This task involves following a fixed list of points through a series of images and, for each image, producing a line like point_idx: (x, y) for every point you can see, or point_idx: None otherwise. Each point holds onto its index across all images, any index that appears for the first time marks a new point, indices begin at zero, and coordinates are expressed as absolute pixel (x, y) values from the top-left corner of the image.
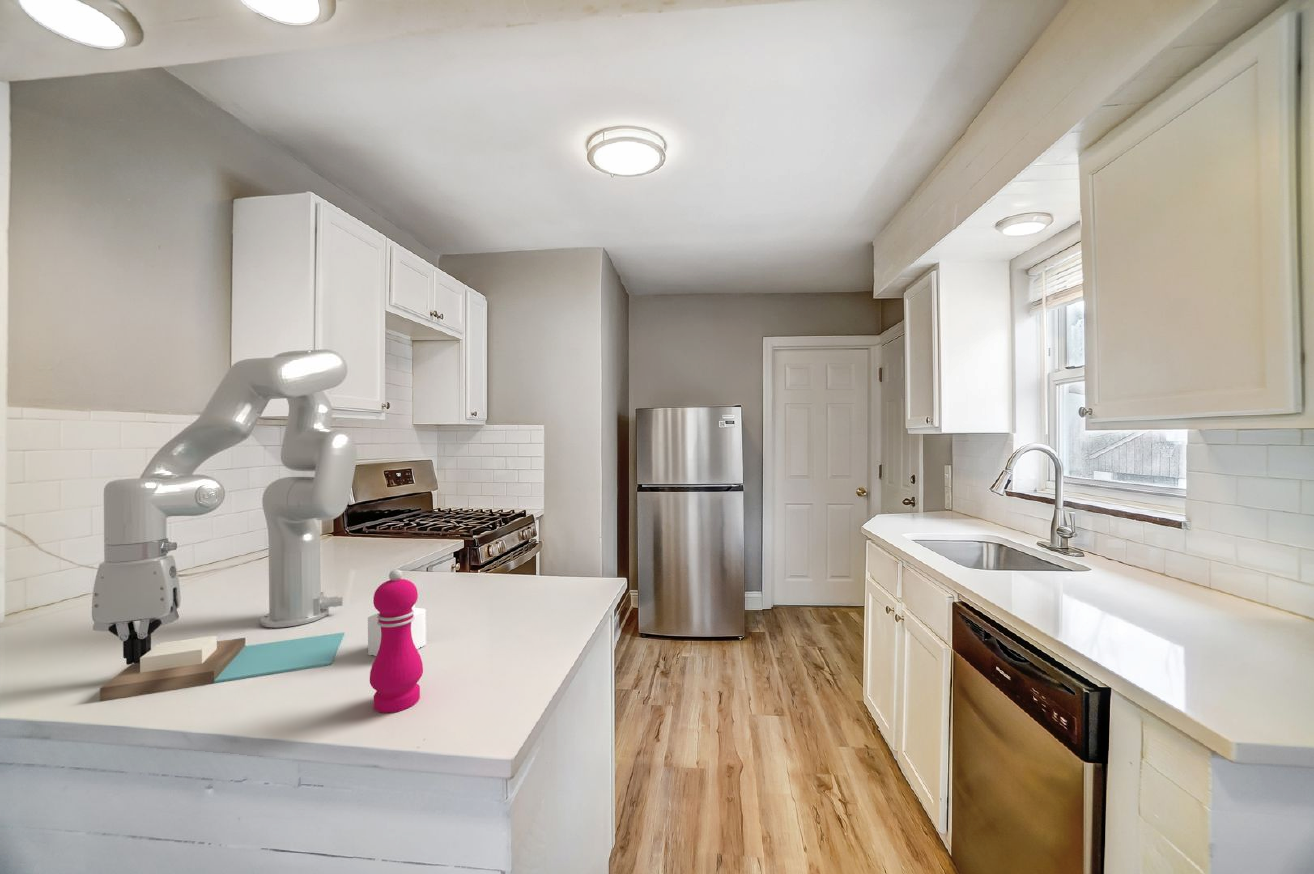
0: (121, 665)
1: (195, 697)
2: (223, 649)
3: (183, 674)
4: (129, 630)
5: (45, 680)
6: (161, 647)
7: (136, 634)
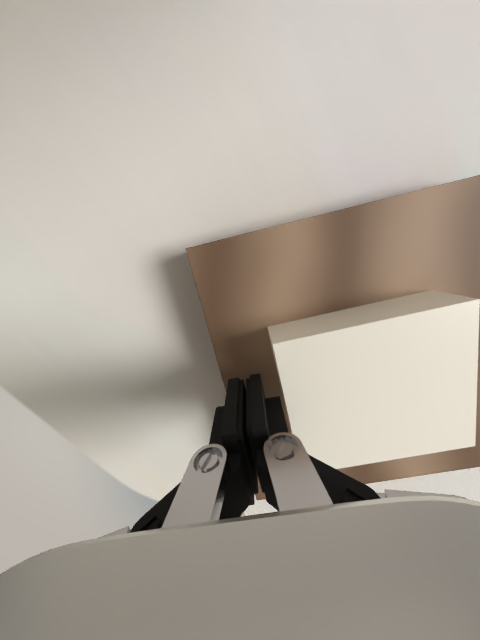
0: (127, 266)
1: (442, 493)
2: None
3: (414, 469)
4: (222, 511)
5: (11, 336)
6: (311, 394)
7: (242, 468)
